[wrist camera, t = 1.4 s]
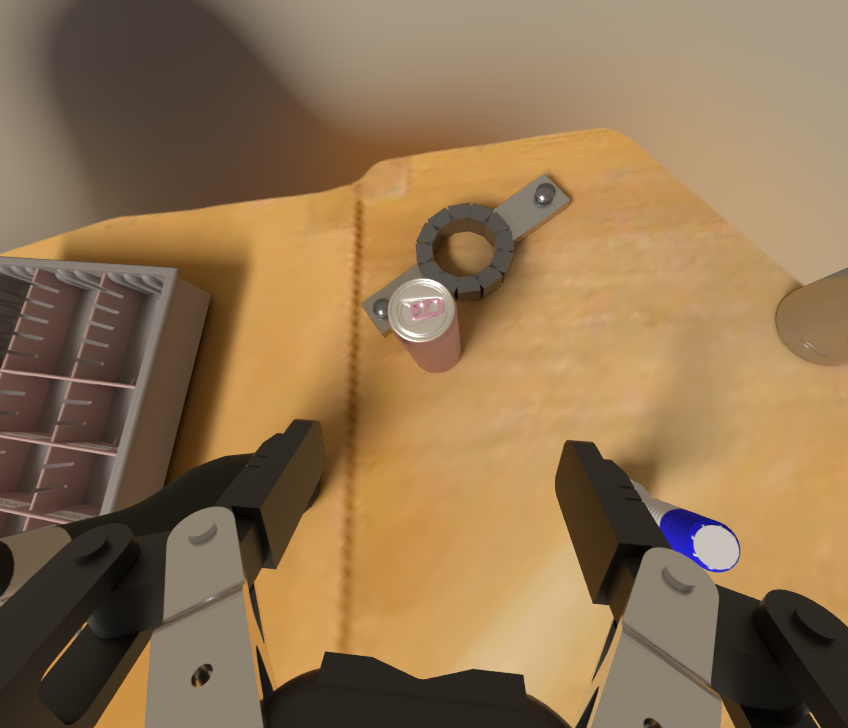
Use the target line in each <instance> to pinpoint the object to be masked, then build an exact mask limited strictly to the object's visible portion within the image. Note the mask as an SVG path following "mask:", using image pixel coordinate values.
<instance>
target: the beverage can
mask: <svg viewBox="0 0 848 728" xmlns="http://www.w3.org/2000/svg"><path fill="white" fill-rule="evenodd" d="M388 318H389V324H390V327H391V329H392V331H393V333H394V334H395V336H396V337H397V338H398V340H399V341H400V342H401V343H402V345H403V346H404V347H405V349H406V350H407V351H408V352H409V354H410V355H411V356H412V358H413V359H414V360H415V361H416V363H417V364H418V365H419V366H420V367H421V368H422V369H424V370H425V371H428V372H431V373H442V372H445V371H447V370H449V369H451V368H452V367H453V366H454V365H455V364H456V363H457V361H458V359H459V357H460V353H461V344H460V334H459V324H458V314H457V306H456V303H455V300H454V298H453V296H452V295H451V294H450V292H449V291H448V289H447V288H446V287H445V286H444V285H442V284H441V283H439V282H437V281H435V280H432V279H428V278H417V279H413V280H410V281H408V282H406V283H404V284H402V285H401V286H400V287H399V288H398V289H397V290H396V291H395V292H394V293H393V295H392V297H391V299H390V301H389V305H388Z"/></svg>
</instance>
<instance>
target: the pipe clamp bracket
mask: <svg viewBox="0 0 848 728" xmlns="http://www.w3.org/2000/svg"><path fill="white" fill-rule="evenodd" d="M569 202H570V199H569V198H568V197H567V196H566V195H565V194H564V193H563V192H562V191H561V190H560V189H559V188H558V187H557V186H556V185H555V184H554V183H553V182H552V181H551V180H550V179H549V178H548V177H547V176H546V175H545V174H543V175H542V176H540V177H539V178H538V179H536V180H535V181H533V182H532V183H531V184H529V185H528V186H526V187H525V188H523V189H522V190H521V191H519V192H518V193H516V194H515V195H514V196H512V197H511V198H509V199H508V200H507V201H505V202H504V203H502V204H501V205H499V206H498V207H497V208H495V209H494V210H493V209H490V208H487V207H484V206H481V205H478V204H475V203H473V205H472V207H471V209H470V203H465V204H459V205H453V206H448V207H449V212H448V210H447V209H446V208H444V209H442V210H441V211H439V212H438V213H437V214H435V215H434V216H432V217H431V218H430V219H428V223H426V222H425V224H424V226H423V228H422V230H421V232H420V234H419V236H418V238H417V240H416V241H417V244H416V253H417V264H416V265H415V266H413V267H412V268H411V269H409V270H408V271H406V272H405V273H404V274H402V275H401V276H399V277H398V278H396V279H395V280H394V281H392V282H391V283H389V284H388V285H387V286H385V287H384V288H382V289H381V290H380V291H378V292H377V293H375V294H374V295H372V296H371V297H370V298H368V299H367V300H365V301H364V302H363V303H361V305H362V307H363V308H364V310H365V311H366V313H367V314H368V316H369V317H370V318H371V320H372V321H373V323H374V324H375V326H376V327H377V329H378V330H379V331H380V333H381V334H382V335H383V336H384V338H385V337H386V336H387V335H389V334H390V333H392V332H393V331H392V329H391V327H390V324H389V318H388V305H389V301H390V299H391V297H392V295H393V293H394V292H395V291H396V290H397V289H398V288H399V287H400V286H401V285H402V284H404V283H406V282H408V281H410V280H413V279H417V278H428V279H432V280H435V281H437V282H439V283H441V284H442V285H444V286H445V287H446V288H447V289H448V291H449V292H450V294H451V295H452V296H453V298H454V300H455V301H456V299H457V297H458V301H459V302H465V301H473V300H480V295H481V296H482V298H484V297H486V296H487V295H489V294H490V293H491V292H493V291H494V290H496V289H497V288H498V287H500V286H501V283H502V284H503V281H504V279H505V277H506V275H507V273H508V270H509V268H510V266H511V263H512V259H513V255H514V245H516V244H517V243H518V242H520V241H521V240H523V239H524V238H525V237H527V236H528V235H530V234H531V233H533V232H534V231H535V230H537V229H538V228H540V227H541V226H542V225H544V224H545V223H547V222H548V221H549V220H551V219H552V218H554V217H555V216H556V215H558V214H559V213H561V212H562V211H564V210H565V209H566V208H567V206H568V204H569ZM466 231H470V232H473V233H476V234H479V235H482V236H484V237H485V238H486V239H487V241H488V242H489V243H490V244H491V245H492V246H493V249H494V258H493V260H492V262H491V264H490V266H488V267H487V268H485V269H484V270H482V271H481V272H480V273H478V274H477V275H472V276H465V277H456V276H454V275H451V274H449V273H446V272H443V271H442V270H441V268H440V267H439V266H438V264H437V263H436V262H435V259H434V255H435V253H436V251H437V249H438V247H439V245H440V243H441V242H442V241H443V240H445V239H446V238H448V237H449V236H450V235H452V234H453V233H460V232H466Z"/></svg>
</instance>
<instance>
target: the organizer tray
mask: <svg viewBox="0 0 848 728" xmlns="http://www.w3.org/2000/svg"><path fill="white" fill-rule="evenodd" d="M178 272H179V269H178V268H174V267H158V266H143V265H127V264H111V263H96V262H80V261H65V260H49V259H34V258H18V257H3V256H0V538H4V537H8V536H12V535H17V534H21V533H26V532H30V531H35V530H39V529H44V528H48V527H53V526H57V525H62V524H66V523H70V522H75V521H79V520H83V519H88V518H92V517H97V516H101V515H105V514H109V513H113V512H116V511H120V510H123V509H126V508H128V507H131V506H133V505H135V504H137V503H139V502H141V501H143V500H145V499H147V498H148V497H150V496H152V495H153V494H155V493H156V492H158V491H159V490H161V489H162V488H163V486H164V482H165V478H166V474H167V470H168V466H169V462H170V459H172V458H171V454H172V450H173V446H174V442H175V438H176V434H177V430H178V426H179V422H180V418H181V414H182V410H183V406H184V402H185V398H186V394H187V390H188V386H189V382H190V378H191V374H192V370H193V366H194V362H195V358H196V354H197V350H198V346H199V342H200V338H201V334H202V330H203V326H204V322H205V318H206V314H207V310H208V306H209V302H210V298H211V294H210V293H208V292H206V291H204V290H202V289H200V288H198V287H197V286H195V285H193V284H191V283H189V282H187V281H185V280H183V279H181V278H180V277H178ZM10 597H11V596H9V597H6V598H3V599H1V600H0V607H1V606H2V605H3V604H4V603H5V602H6V601H7V600H8V599H9V598H10ZM81 629H82V627H81V628H80V629H79V630H78V632H77V633H76V634H75V635H74V636H75V637H77V636H78V635H79V634H80V633H81Z"/></svg>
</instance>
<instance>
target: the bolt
mask: <svg viewBox="0 0 848 728" xmlns="http://www.w3.org/2000/svg"><path fill="white" fill-rule="evenodd" d="M630 481H631V482H632V484H633V485H634V489H635V490H637V492H638V494H639V495H640V497H641V498H642V502H644V503H645V505H646V506H647V508H648V510H649V511H650V513H651V515H652V516H653V518H654V519H655V521H656V523H657V524H658V526H659V527H660V529H661V531H662V532H663V534H664V536H665V537H666V539H667V540H668V542H669V544H670V545H671V547H672V548H673V550H674V551H676V552H679V553H681V554H683V555H685V556H686V557H688V558H690V559H691V560H693V561H694V562H695V563H697V564H698V565H699V566H701V567H702V568H704V569H706V570H708V571H712V572H725V571H728V570H730V569H731V568H733V567H734V566H735V565H736V563H737V562H738V560H739V557H740V545H739V541H738V539H737V537H736V535H735V534H734V533H733V532H732V530H731V529H729V528H728V527H727V526H726V525H724V524H722V523H720V522H718V521H715V520H712V519H710V518H706V517H704V516H701V515H698V514H696V513H693V512H690V511H688V510H685V509H682V508H680V507H677V506H674V505H671V504H669V503H666V502H663V501H661V500H658V499H655V498H652V497H651V495H650V494H649V492H648V491H647V490H646V488H644V487H643V486H642V485H641V484H639V483H638V482H636V481H633V480H630Z"/></svg>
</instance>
